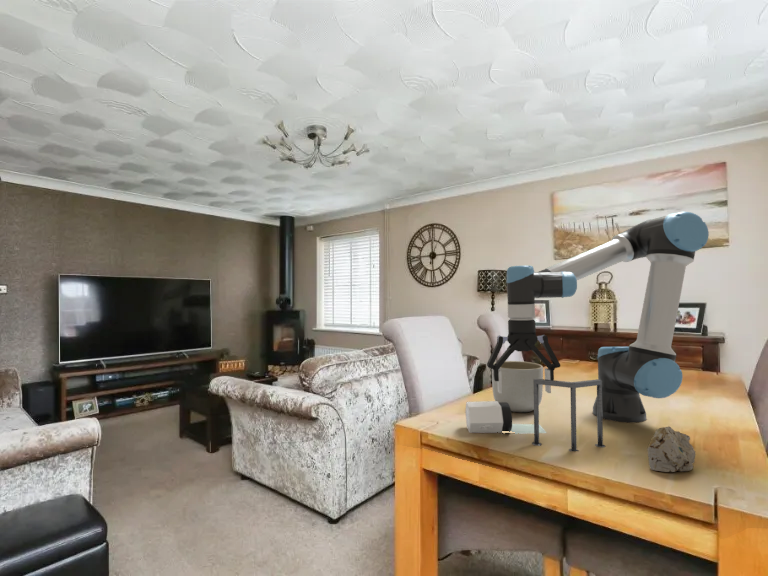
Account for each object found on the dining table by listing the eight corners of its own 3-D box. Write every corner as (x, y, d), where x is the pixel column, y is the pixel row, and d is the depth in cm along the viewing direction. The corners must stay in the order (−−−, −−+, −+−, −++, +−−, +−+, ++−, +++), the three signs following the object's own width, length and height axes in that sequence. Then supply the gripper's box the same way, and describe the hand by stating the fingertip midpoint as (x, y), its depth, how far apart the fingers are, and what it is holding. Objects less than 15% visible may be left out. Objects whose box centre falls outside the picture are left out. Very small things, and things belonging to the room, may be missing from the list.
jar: (470, 418, 112) (513, 418, 112) (466, 396, 119) (507, 395, 118) (468, 438, 117) (510, 438, 116) (464, 416, 124) (504, 415, 123)
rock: (675, 471, 84) (671, 422, 88) (644, 468, 89) (642, 422, 94) (711, 483, 88) (705, 435, 92) (679, 479, 93) (675, 434, 98)
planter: (547, 406, 143) (547, 363, 143) (537, 419, 129) (536, 371, 129) (500, 399, 152) (499, 359, 153) (485, 410, 138) (485, 366, 138)
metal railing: (603, 446, 106) (602, 378, 106) (614, 455, 99) (613, 384, 100) (530, 444, 107) (529, 377, 108) (537, 453, 101) (536, 383, 101)
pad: (539, 425, 123) (539, 424, 123) (553, 441, 110) (553, 439, 110) (495, 424, 124) (495, 423, 124) (504, 439, 111) (504, 438, 111)
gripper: (561, 317, 120) (563, 388, 119) (476, 319, 122) (478, 389, 122) (570, 318, 112) (573, 395, 112) (479, 320, 115) (481, 395, 114)
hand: (523, 392), depth 117 cm, fingers open, 13 cm apart
